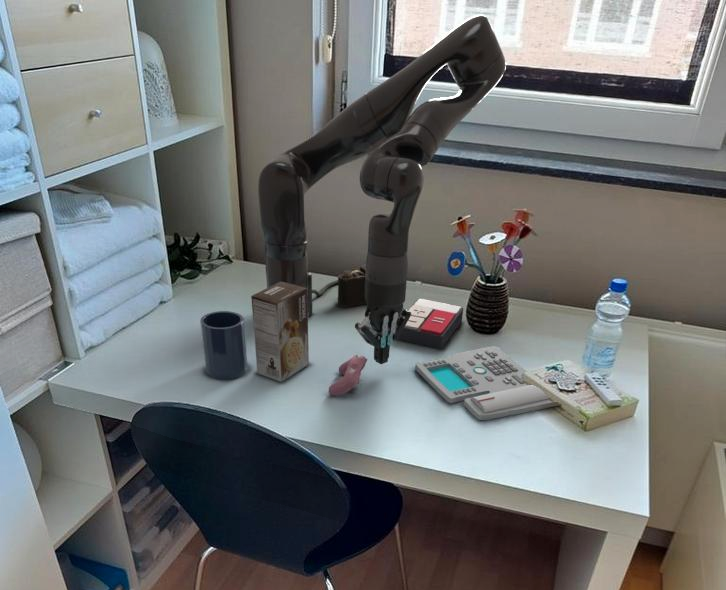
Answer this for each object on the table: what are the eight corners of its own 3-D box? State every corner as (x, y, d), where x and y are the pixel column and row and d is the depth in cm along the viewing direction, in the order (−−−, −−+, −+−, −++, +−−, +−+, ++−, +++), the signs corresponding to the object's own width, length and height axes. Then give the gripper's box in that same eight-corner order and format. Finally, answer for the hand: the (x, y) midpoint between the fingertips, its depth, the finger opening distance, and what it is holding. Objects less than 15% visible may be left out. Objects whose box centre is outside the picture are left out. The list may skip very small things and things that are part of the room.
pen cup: (233, 356, 138) (228, 307, 132) (255, 371, 133) (252, 321, 127) (198, 367, 134) (192, 317, 127) (220, 383, 129) (214, 332, 123)
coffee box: (284, 356, 139) (281, 279, 129) (309, 364, 136) (308, 287, 126) (255, 373, 133) (250, 294, 123) (281, 383, 130) (278, 303, 120)
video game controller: (346, 406, 127) (364, 378, 123) (325, 393, 126) (342, 365, 122) (357, 381, 135) (374, 354, 131) (337, 369, 134) (354, 342, 130)
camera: (387, 287, 170) (389, 255, 165) (402, 297, 165) (404, 264, 160) (329, 299, 163) (329, 266, 158) (343, 309, 158) (343, 275, 154)
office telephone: (565, 393, 126) (473, 414, 119) (562, 405, 127) (471, 426, 120) (496, 339, 142) (412, 355, 135) (494, 351, 144) (410, 366, 137)
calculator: (393, 323, 145) (418, 295, 155) (393, 341, 147) (416, 312, 158) (442, 333, 141) (464, 304, 152) (441, 351, 144) (462, 322, 155)
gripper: (373, 290, 117) (368, 379, 127) (426, 273, 124) (418, 359, 134) (344, 277, 121) (343, 364, 132) (398, 262, 128) (392, 345, 139)
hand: (381, 361), depth 133 cm, fingers closed
